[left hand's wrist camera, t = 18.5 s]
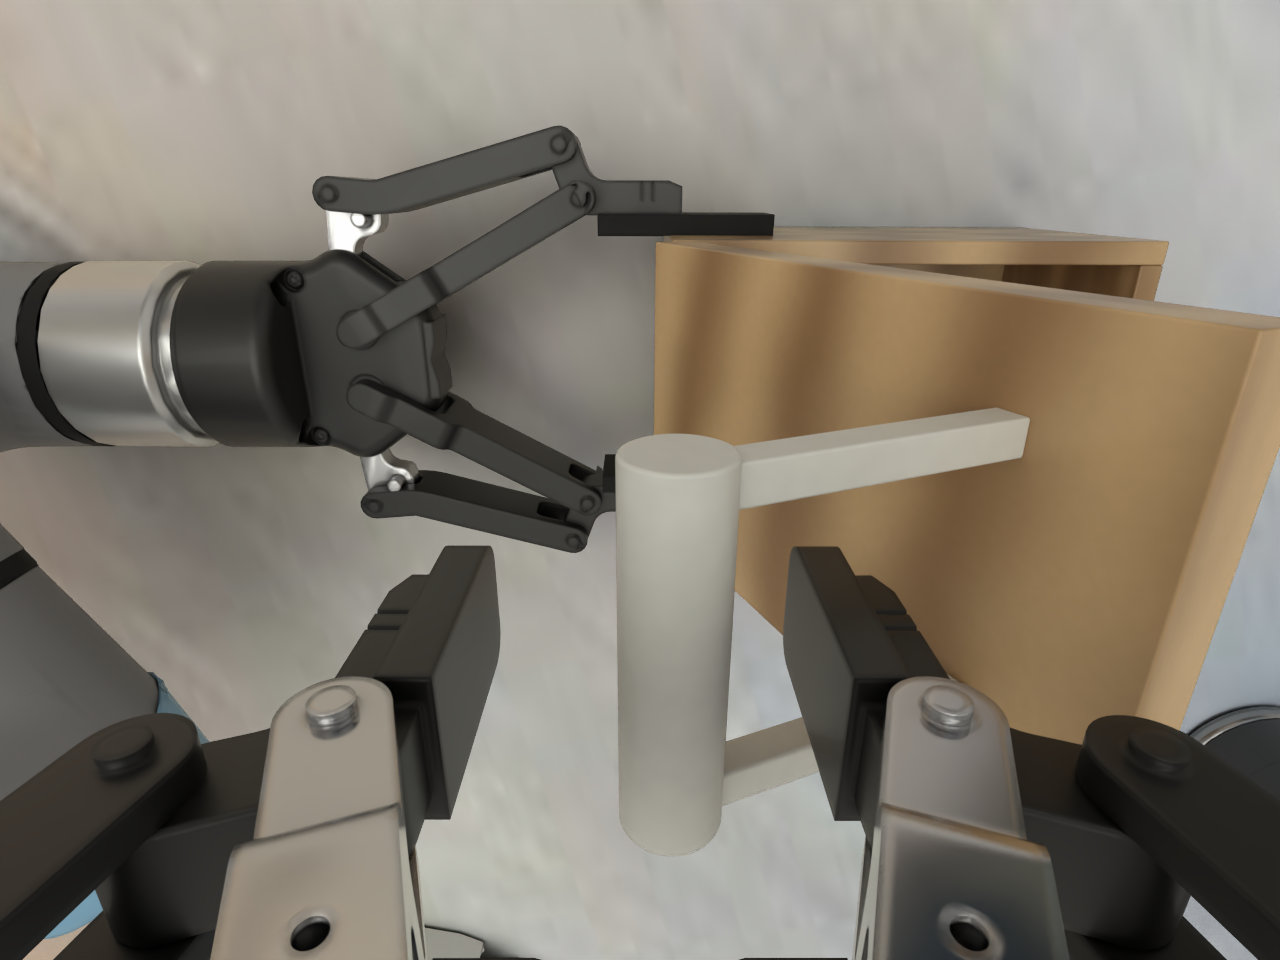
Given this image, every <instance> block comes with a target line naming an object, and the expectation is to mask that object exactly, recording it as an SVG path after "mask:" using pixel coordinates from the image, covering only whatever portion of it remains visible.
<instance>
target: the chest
mask: <svg viewBox="0 0 1280 960" xmlns="http://www.w3.org/2000/svg"><path fill="white" fill-rule="evenodd" d="M676 241H693V242H701V243H709V244H716V245H724V246H732V247H739V248H747V249H755V250H763V251H770V252H778V253H786V254H793V255H801V256H809V257H817V258H824V259H832V260H840V261H847V262H855V263H863V264H870V265H878V266H886V267H894V268H901V269H909V270H917V271H924V272H932V273H940V274H948V275H955V276H963V277H971V278H978V279H986V280H994V281H1002V282H1009V283H1017V284H1025V285H1032V286H1040V287H1048V288H1056V289H1063V290H1071V291H1079V292H1086V293H1094V294H1102V295H1109V296H1117V297H1125V298H1133V299H1140V300H1148V301H1154V298H1155V294H1156V290H1157V286H1158V282H1159V279H1160V275H1161V271H1162V266H1161V265H1163V264H1164V260H1165V256H1166V252H1167V249H1168V245H1169V242H1168V241H1159V240H1148V239H1137V238H1126V237H1116V236H1105V235H1094V234H1083V233H1073V232H1062V231H1051V230H1041V229H1030V228H1023V227H774V230H773V236H714V235H671V236H663V242H676Z"/></svg>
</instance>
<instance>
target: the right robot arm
mask: <svg viewBox="0 0 1280 960" xmlns="http://www.w3.org/2000/svg"><path fill="white" fill-rule="evenodd" d="M549 170H553V173H554V175H555V178H556V181H557V183H558V186H559V190H558V191H556V192H554V193H553V194H551V195H549V196H548V197H546V198H544V199H543V200H541V201H539V202H538V203H536V204H534V205H533V206H531V207H529V208H528V209H526V210H525V211H523V212H521V213H520V214H518V215H516V216H515V217H513V218H511V219H510V220H508V221H506V222H505V223H503V224H501V225H500V226H498V227H496V228H495V229H493V230H491V231H490V232H488V233H487V234H485V235H483V236H482V237H480V238H478V239H477V240H475V241H473V242H472V243H470V244H468V245H467V246H465V247H463V248H462V249H460V250H458V251H457V252H455V253H454V254H452V255H450V256H449V257H447V258H445V259H444V260H442V261H440V262H439V263H437V264H435V265H434V266H432V267H430V268H428V269H426V270H425V271H423V272H421V273H419V274H417V275H416V276H414V277H412V278H411V279H409V280H407V281H406V280H405V279H403V278H402V277H400V276H399V275H397V274H396V273H394V272H393V271H391V270H390V269H389V268H387V267H386V266H384V265H383V264H381V263H380V262H378V261H377V260H376V259H374V258H373V257H371V256H370V255H368V254H367V253H365V252H363V244H364V241H365V240H366V239H367V238H368V237H369V236H371V235H375V234H379V233H382V232H383V231H384V230H385V229H386V228H387V226H388V221H389V217H388V214H390V213H400V212H408V211H413V210H417V209H421V208H424V207H428V206H431V205H434V204H438V203H441V202H445V201H448V200H451V199H455V198H458V197H461V196H465V195H468V194H472V193H475V192H478V191H482V190H485V189H489V188H492V187H495V186H499V185H502V184H505V183H509V182H512V181H516V180H519V179H522V178H526V177H529V176H533V175H536V174H539V173H543V172H546V171H549ZM312 193H313V197H314V200H315V201H316V203H317V204H318V205H319V206H320V207H321V208H323V209H324V210H326V216H327V230H328V245H329V251H327V252H325V253H323V254H321V255H320V256H318V257H317V258H315V259H313V260H311V261H211V262H208V263H205V264H203V265H200V264H197V263H194V262H192V261H86V262H68V263H41V262H0V452H3V451H7V450H11V449H16V448H22V447H36V446H174V447H211V446H214V445H216V444H219V443H221V444H224V445H227V446H232V447H312V446H333V447H338V448H341V449H343V450H346V451H348V452H350V453H352V454H354V455H357V456H360V458H361V463H362V467H363V471H364V475H365V479H366V483H367V487H368V492H367V493H366V494H365V496H364V497H363V498H362V500H361V508H362V510H363V512H364V513H365V514H366V515H367V516H370V517H372V518H389V517H402V516H415V515H416V516H420V517H424V518H429V519H433V520H437V521H441V522H445V523H449V524H454V525H458V526H462V527H466V528H470V529H474V530H479V531H483V532H487V533H491V534H495V535H499V536H504V537H508V538H512V539H516V540H520V541H525V542H529V543H533V544H537V545H541V546H545V547H550V548H554V549H558V550H562V551H566V552H570V553H577V552H580V551H582V550H583V549H584V548H585V547H586V545H587V540H588V537H589V534H590V531H591V529H592V526H593V524H594V521H595V519H596V518H597V517H598V516H599V515H601V514H602V513H605V512H610V511H616V479H615V456H616V454H605V461H604V469H603V470H602V468H600V467H599V466H597V470H596V471H595V470H593V469H591V468H589V467H587V466H585V465H583V464H581V463H579V462H577V461H575V460H574V459H572V458H570V457H568V456H566V455H564V454H562V453H560V452H558V451H556V450H554V449H552V448H550V447H548V446H546V445H544V444H542V443H540V442H538V441H536V440H534V439H532V438H530V437H528V436H526V435H524V434H522V433H520V432H519V431H517V430H515V429H513V428H511V427H509V426H507V425H505V424H503V423H501V422H499V421H497V420H495V419H493V418H491V417H489V416H487V415H485V414H483V413H481V412H479V411H477V410H476V409H474V408H473V407H472V405H471V404H470V403H469V402H468V401H466V400H464V399H462V398H460V397H458V396H456V395H454V394H452V393H450V392H448V391H449V389H450V388H451V387H452V379H451V369H450V366H449V364H448V361H447V358H446V356H445V353H444V347H445V341H446V335H447V327H446V317H445V314H441V313H440V310H439V308H438V307H437V305H436V304H437V303H439V302H440V301H442V300H444V299H445V298H447V297H449V296H451V295H452V294H454V293H456V292H457V291H459V290H461V289H462V288H464V287H465V286H467V285H469V284H471V283H472V282H474V281H476V280H477V279H479V278H481V277H482V276H484V275H486V274H487V273H489V272H491V271H492V270H494V269H496V268H497V267H499V266H501V265H503V264H504V263H506V262H508V261H509V260H511V259H513V258H514V257H516V256H518V255H519V254H521V253H523V252H524V251H526V250H528V249H529V248H531V247H533V246H535V245H536V244H538V243H540V242H541V241H543V240H545V239H546V238H548V237H550V236H551V235H553V234H555V233H556V232H558V231H560V230H561V229H563V228H565V227H567V226H568V225H570V224H572V223H573V222H575V221H577V220H578V219H580V218H582V217H583V216H585V215H598V236H671V235H714V236H773V230H774V215H773V214H767V213H682V186H680V185H678V184H675V183H673V182H671V181H605V180H600V179H598V178H597V177H595V176H594V175H593V174H592V173H591V171H590V169H589V167H588V165H587V162H586V159H585V157H584V154H583V151H582V148H581V144H580V142H579V139H578V138H577V137H576V136H575V135H574V133H572V132H571V131H570V130H569V129H568V128H566V127H563V126H553V127H550V128H547V129H543V130H540V131H537V132H533V133H530V134H527V135H523V136H520V137H517V138H513V139H510V140H507V141H503V142H500V143H497V144H494V145H490V146H487V147H484V148H480V149H477V150H474V151H470V152H467V153H464V154H460V155H457V156H454V157H450V158H447V159H444V160H440V161H437V162H434V163H430V164H427V165H424V166H420V167H417V168H414V169H411V170H407V171H404V172H401V173H397V174H394V175H391V176H387V177H384V178H381V179H377V180H375V179H364V178H354V177H335V176H324V177H320V178H319V179H317V180H316V182H315V183H314V185H313V191H312ZM407 434H409V435H411V436H413V437H415V438H417V439H419V440H421V441H423V442H425V443H427V444H429V445H431V446H433V447H435V448H438V449H449V450H452V451H454V452H456V453H458V454H460V455H462V456H464V457H466V458H468V459H471V460H473V461H475V462H477V463H479V464H481V465H483V466H485V467H487V468H489V469H491V470H493V471H495V472H497V473H499V474H501V475H503V476H505V477H507V478H509V479H511V480H513V481H515V482H517V483H519V484H521V485H523V486H525V487H527V488H529V489H531V490H533V491H535V492H537V493H539V494H541V495H543V496H545V497H547V498H545V497H541V496H537V495H532V494H528V493H524V492H520V491H516V490H512V489H508V488H504V487H500V486H496V485H492V484H488V483H484V482H480V481H476V480H472V479H468V478H464V477H460V476H455V475H451V474H447V473H443V472H437V471H428V470H418V468H417V466H416V464H415V463H414V462H412V461H407V460H401V459H398V458H396V457H395V456H394V455H393V454H392V453H391V451H390V449H389V448H390V447H391V446H392V445H394V444H395V443H396V442H398V441H399V440H400V439H402V438H403V437H404V436H406V435H407ZM154 713H173V714H179V715H182V716H185V717H187V718H189V719H190V720H191V718H190V717H189V716H188V715H187V714H186V712H185V711H184V710H183V709H182V707H181V706H180V705H179V704H178V703H177V701H176V700H175V699H174V698H173V696H172V695H171V694H170V693H169V691H168V689H167V688H166V686H165V684H164V681H163V680H161V679H160V678H158V677H157V676H156V675H155V674H154V673H153V672H146V671H145V670H144V669H143V668H142V667H141V666H140V665H139V664H138V663H137V662H136V661H135V660H134V659H133V658H132V657H131V656H130V655H129V654H128V653H127V652H126V651H125V650H124V649H123V648H122V647H121V646H120V645H119V644H118V643H117V642H116V641H115V640H114V639H112V638H111V637H110V636H109V635H108V634H107V633H106V632H105V631H104V630H103V629H102V628H101V627H100V626H99V625H98V624H97V623H96V622H95V621H94V620H93V619H92V618H91V617H90V616H89V615H88V614H87V613H86V612H85V611H84V610H83V609H82V608H81V607H80V606H79V605H78V604H77V603H76V602H75V601H73V600H72V599H71V598H70V597H69V596H68V595H67V594H66V593H65V592H64V591H63V590H62V589H61V588H60V587H59V586H58V585H57V584H56V583H55V582H54V581H53V580H52V579H51V578H50V577H49V576H48V575H47V574H46V573H45V572H44V571H43V570H42V569H41V568H40V567H39V566H38V564H37V562H36V561H35V560H34V559H33V558H32V557H31V556H30V555H29V554H28V553H27V552H26V551H25V550H24V547H23V546H22V545H21V544H20V543H19V542H18V541H17V540H16V539H15V538H14V537H13V536H12V535H11V534H10V533H9V532H8V531H7V530H6V529H5V528H4V527H3V526H2V525H1V524H0V801H1V800H2V799H4V798H5V797H6V796H8V795H9V794H10V793H12V792H13V791H14V790H16V789H17V788H19V787H20V786H21V785H23V784H24V783H25V782H27V781H28V780H29V779H31V778H32V777H33V776H35V775H36V774H37V773H39V772H40V771H42V770H43V769H44V768H46V767H47V766H48V765H50V764H51V763H52V762H54V761H55V760H56V759H58V758H59V757H60V756H62V755H63V754H65V753H66V752H67V751H69V750H70V749H71V748H73V747H74V746H75V745H77V744H78V743H80V742H81V741H83V740H84V739H86V738H87V737H89V736H90V735H92V734H94V733H96V732H98V731H99V730H101V729H104V728H106V727H108V726H110V725H112V724H115V723H118V722H120V721H123V720H126V719H130V718H133V717H137V716H142V715H146V714H154ZM191 721H192V720H191ZM192 722H193V721H192ZM193 723H194V722H193ZM194 724H195V723H194ZM195 726H196V725H195ZM196 729H197V732H198V735H199V739H200V742H201V744H204V743H208V742H209V741H208V739H207V738H206V737H205V736H204V734H203V733H202V732H201V731H200V730H199V728H198V727H197V726H196ZM102 911H103V909H102V906H101V904H100V901H99V899H98V896H97V894H96V891H95V890H94V891H93V892H92V893H91V894H90V895H89V896H88V897H87V898H86V899H85V900H84V901H83V902H82V903H81V904H80V905H78V906H77V907H76V908H75V909H74V910H73V911H72V912H71V913H70V914H69V915H68V916H67V917H66V918H65V919H64V920H63V921H62V922H61V923H60V924H59V925H58V926H57V927H55V928H54V929H53V930H52V931H51V932H50V933H49V934H48V935H47V936H46V937H45V938H44V939H50V938H55V937H58V936H61V935H64V934H67V933H70V932H72V931H74V930H76V929H78V928H80V927H82V926H84V925H86V924H88V923H89V922H91V921H92V920H94V919H95V918H96V917H97V916H98V915H99V914H100V913H101V912H102Z"/></svg>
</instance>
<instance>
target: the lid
mask: <svg viewBox="0 0 1280 960" xmlns="http://www.w3.org/2000/svg"><path fill="white" fill-rule="evenodd" d="M1279 447H1280V318H1279V317H1271V316H1264V315H1256V314H1248V313H1241V312H1233V311H1225V310H1217V309H1210V308H1202V307H1194V306H1187V305H1179V304H1171V303H1163V302H1156V301H1148V300H1140V299H1133V298H1125V297H1117V296H1109V295H1102V294H1094V293H1086V292H1079V291H1071V290H1063V289H1056V288H1048V287H1040V286H1032V285H1025V284H1017V283H1009V282H1002V281H994V280H986V279H978V278H971V277H963V276H955V275H948V274H940V273H932V272H924V271H917V270H909V269H901V268H894V267H886V266H878V265H870V264H863V263H855V262H847V261H840V260H832V259H824V258H817V257H809V256H801V255H793V254H786V253H778V252H770V251H763V250H755V249H747V248H739V247H732V246H724V245H716V244H709V243H701V242H693V241H676V242H656V270H655V370H654V435H651V436H646V437H641V438H638V439H634V440H631V441H629V442H627V443H625V444H623V445H622V446H621V447H620V448H619V449H618V451H617V453H616V456H615V479H616V569H617V659H618V749H619V817H620V822H621V825H622V827H623V829H624V831H625V832H626V834H627V835H628V837H629V838H630V839H631V840H632V841H633V842H634V843H635V844H636V845H638V846H639V847H641V848H642V849H644V850H646V851H648V852H651V853H654V854H657V855H662V856H682V855H687V854H690V853H693V852H695V851H698V850H700V849H701V848H703V847H704V846H705V845H707V844H708V843H709V842H710V841H711V840H712V839H713V837H714V836H715V834H716V833H717V831H718V829H719V826H720V822H721V811H722V806H724V805H727V804H730V803H733V802H735V801H738V800H741V799H744V798H747V797H749V796H752V795H755V794H758V793H761V792H763V791H766V790H769V789H772V788H775V787H777V786H780V785H783V784H786V783H789V782H792V781H794V780H797V779H800V778H803V777H806V776H808V775H811V774H814V773H817V772H819V768H818V765H817V762H816V759H815V756H814V752H813V749H812V746H811V743H810V739H809V736H808V733H807V730H806V726H805V723H804V720H803V717H802V718H799V719H795V720H792V721H789V722H786V723H783V724H780V725H777V726H773V727H770V728H767V729H764V730H761V731H758V732H755V733H752V734H748V735H745V736H742V737H739V738H736V739H733V740H730V741H726V726H727V709H728V692H729V675H730V658H731V641H732V625H733V608H734V591H736V592H737V593H738V594H739V595H740V596H741V597H742V598H743V599H744V600H746V601H747V602H748V603H749V604H750V605H751V606H752V607H753V608H754V609H755V610H756V611H757V612H758V613H759V614H761V615H762V616H763V617H764V618H765V619H766V620H767V621H768V622H769V623H770V624H771V625H772V626H773V627H774V628H776V629H777V630H778V631H779V632H780V633H781V634H782V635H783V625H784V614H785V602H786V591H787V579H788V568H789V558H790V553H791V550H792V548H793V547H794V546H837V547H839V548H840V549H841V551H842V553H843V555H844V556H845V558H846V560H847V562H848V563H849V565H850V567H851V569H852V571H853V572H854V574H855V575H872V576H873V577H875V578H876V579H877V580H879V581H880V582H882V583H883V584H884V585H886V586H887V587H889V588H890V589H891V590H893V591H894V592H895V593H896V595H897V596H898V598H899V599H900V601H901V603H902V604H903V606H904V607H905V609H906V610H907V615H910V617H911V618H912V620H913V621H914V623H915V625H916V626H917V631H920V632H921V634H922V636H923V637H924V639H925V640H926V642H927V643H928V645H929V647H930V648H931V650H932V651H933V653H934V654H935V656H936V658H937V659H938V661H939V662H940V664H941V665H942V667H943V669H944V670H945V672H946V673H947V675H948V676H949V678H950V680H954V681H957V682H960V683H963V684H966V685H968V686H970V687H972V688H975V689H976V690H978V691H980V692H982V693H983V694H985V695H986V696H988V697H989V698H990V699H992V700H993V701H994V702H995V703H996V704H997V705H998V706H999V707H1000V708H1001V710H1002V711H1003V712H1004V714H1005V716H1006V717H1007V720H1008V723H1009V727H1010V728H1013V729H1016V730H1019V731H1022V732H1026V733H1030V734H1034V735H1039V736H1044V737H1048V738H1053V739H1058V740H1062V741H1067V742H1072V743H1076V744H1081V745H1082V743H1083V739H1084V736H1085V733H1086V730H1087V728H1088V726H1089V724H1090V723H1091V722H1092V721H1094V720H1096V719H1098V718H1101V717H1104V716H1111V715H1128V716H1136V717H1141V718H1145V719H1149V720H1153V721H1156V722H1159V723H1162V724H1165V725H1167V726H1170V727H1173V728H1175V729H1177V730H1180V727H1181V725H1182V722H1183V719H1184V716H1185V713H1186V710H1187V708H1188V705H1189V702H1190V699H1191V696H1192V693H1193V691H1194V688H1195V685H1196V682H1197V679H1198V676H1199V674H1200V671H1201V668H1202V665H1203V662H1204V659H1205V657H1206V654H1207V651H1208V648H1209V645H1210V642H1211V640H1212V637H1213V634H1214V631H1215V628H1216V625H1217V623H1218V620H1219V617H1220V614H1221V611H1222V609H1223V606H1224V603H1225V600H1226V597H1227V594H1228V592H1229V589H1230V586H1231V583H1232V580H1233V577H1234V575H1235V572H1236V569H1237V566H1238V563H1239V560H1240V558H1241V555H1242V552H1243V549H1244V546H1245V543H1246V541H1247V538H1248V535H1249V532H1250V529H1251V526H1252V524H1253V521H1254V518H1255V515H1256V512H1257V509H1258V507H1259V504H1260V501H1261V498H1262V495H1263V492H1264V490H1265V487H1266V484H1267V481H1268V478H1269V475H1270V473H1271V470H1272V467H1273V464H1274V461H1275V458H1276V456H1277V453H1278V450H1279Z"/></svg>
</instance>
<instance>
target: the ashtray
mask: <svg viewBox="0 0 1280 960" xmlns="http://www.w3.org/2000/svg"><path fill="white" fill-rule="evenodd" d="M425 937H426V948H427V958H428V960H432V959H433V958H480V956H481V953H482V952H483V951H485V950H484V947H483V942H481V941H479V940H476V939H473V938H470V937H468V936H465V935H462V934H459V933H453V932H447V931H441V930H436V929H430V928H425Z"/></svg>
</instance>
